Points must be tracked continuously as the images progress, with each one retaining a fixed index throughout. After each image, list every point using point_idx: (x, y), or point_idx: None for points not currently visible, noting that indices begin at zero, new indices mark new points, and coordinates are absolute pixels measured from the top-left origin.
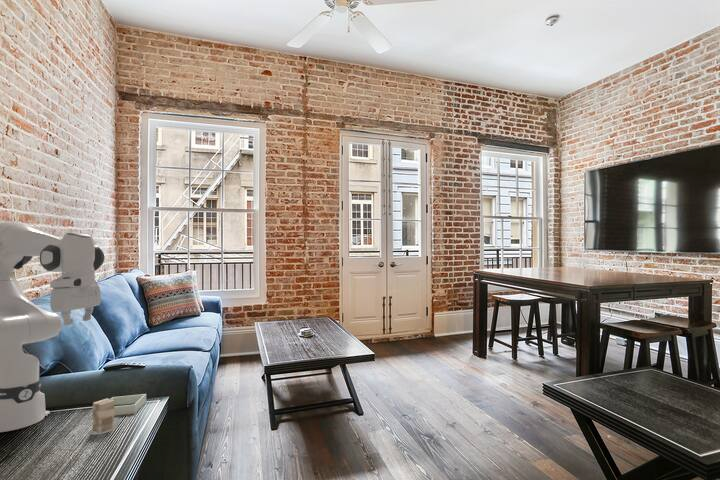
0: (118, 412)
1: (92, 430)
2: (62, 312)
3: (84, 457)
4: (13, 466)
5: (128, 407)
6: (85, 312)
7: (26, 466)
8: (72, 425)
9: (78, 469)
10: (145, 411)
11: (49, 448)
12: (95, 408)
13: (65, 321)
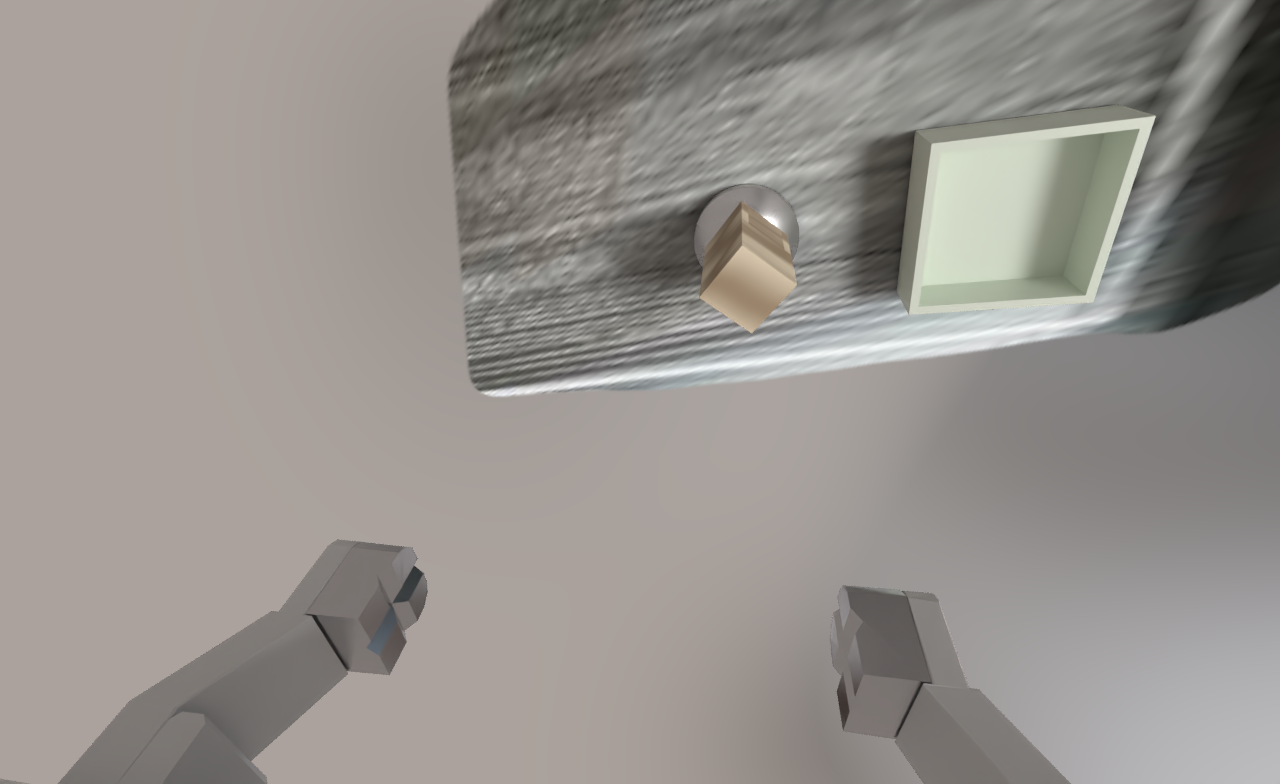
0: (910, 232)
1: (739, 201)
2: (103, 769)
3: (550, 275)
4: (490, 40)
5: (909, 283)
6: (985, 763)
7: (492, 101)
8: (895, 7)
9: (482, 298)
10: None
11: (629, 84)
12: (727, 254)
13: (312, 599)
